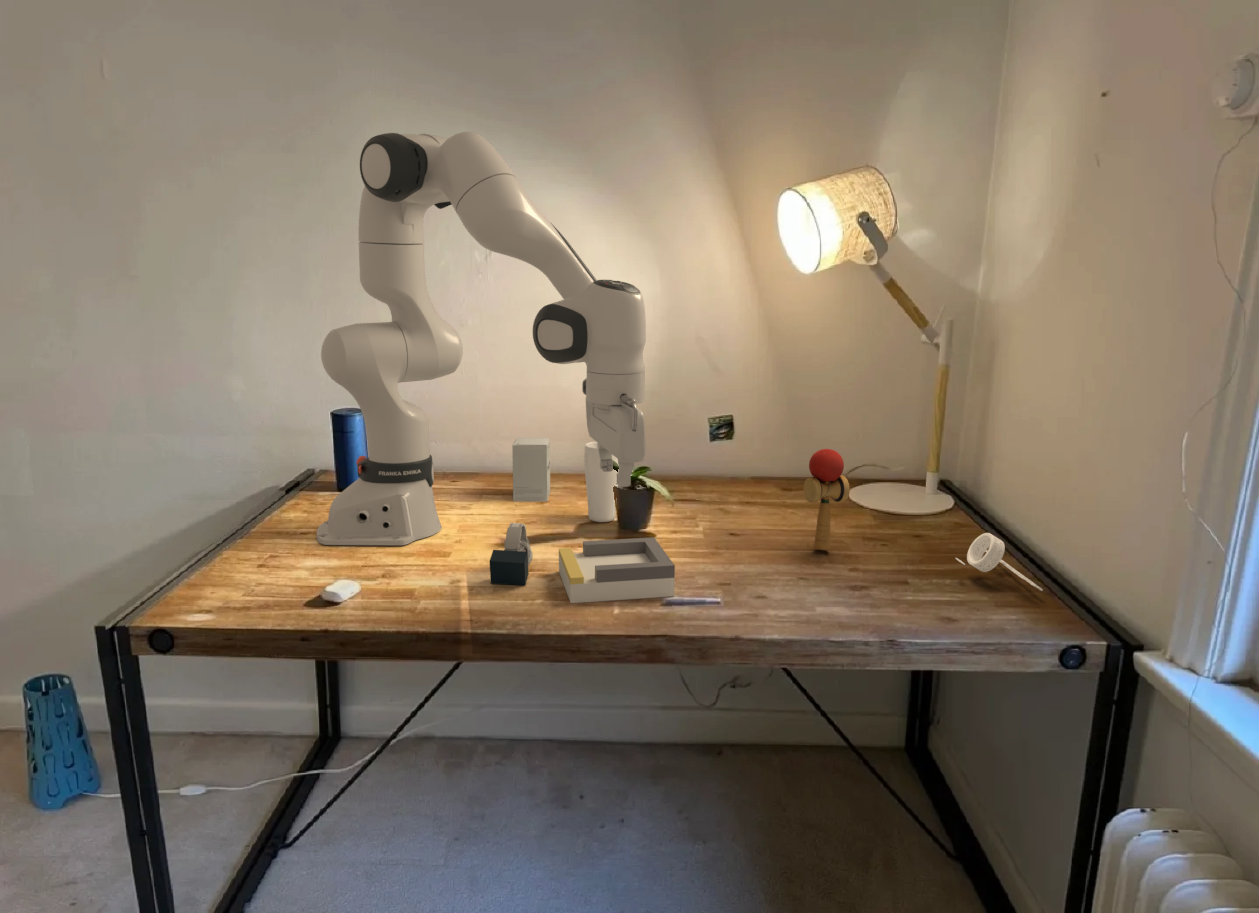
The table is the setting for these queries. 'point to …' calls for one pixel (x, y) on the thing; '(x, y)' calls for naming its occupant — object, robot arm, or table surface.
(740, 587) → the table surface
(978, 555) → the wheel on axle
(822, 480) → the kendama
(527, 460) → the supplement box
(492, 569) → the watch
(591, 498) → the white vase
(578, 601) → the dock
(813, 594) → the table surface
